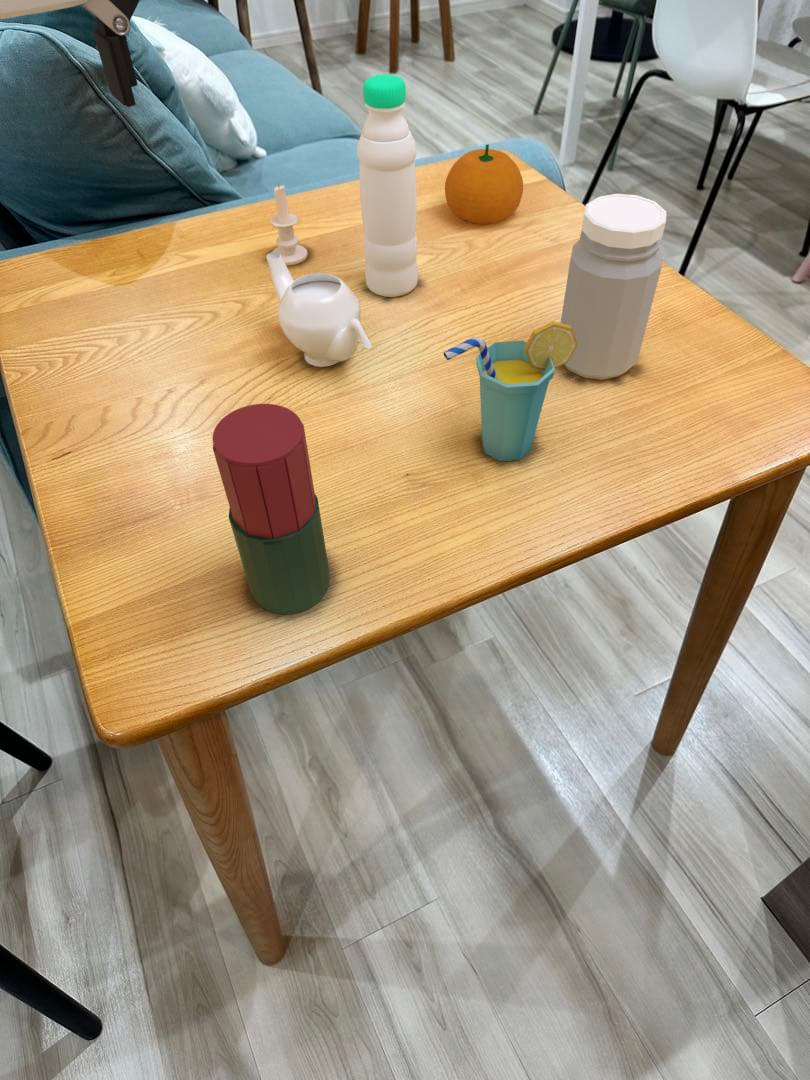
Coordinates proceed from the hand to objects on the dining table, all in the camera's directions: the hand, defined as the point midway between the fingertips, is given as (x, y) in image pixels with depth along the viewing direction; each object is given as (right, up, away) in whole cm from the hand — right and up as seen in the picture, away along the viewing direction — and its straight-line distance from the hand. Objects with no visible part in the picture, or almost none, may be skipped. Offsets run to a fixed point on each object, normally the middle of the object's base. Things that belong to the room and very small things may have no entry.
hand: (52, 116), depth 49 cm
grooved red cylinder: (+13, -25, +12) cm, 30 cm away
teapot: (+13, -5, +42) cm, 45 cm away
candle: (+7, +13, +58) cm, 60 cm away
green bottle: (+13, -32, +19) cm, 39 cm away
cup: (+33, -18, +31) cm, 49 cm away
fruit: (+35, +22, +65) cm, 77 cm away
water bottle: (+21, +7, +52) cm, 57 cm away
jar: (+46, -6, +41) cm, 62 cm away
